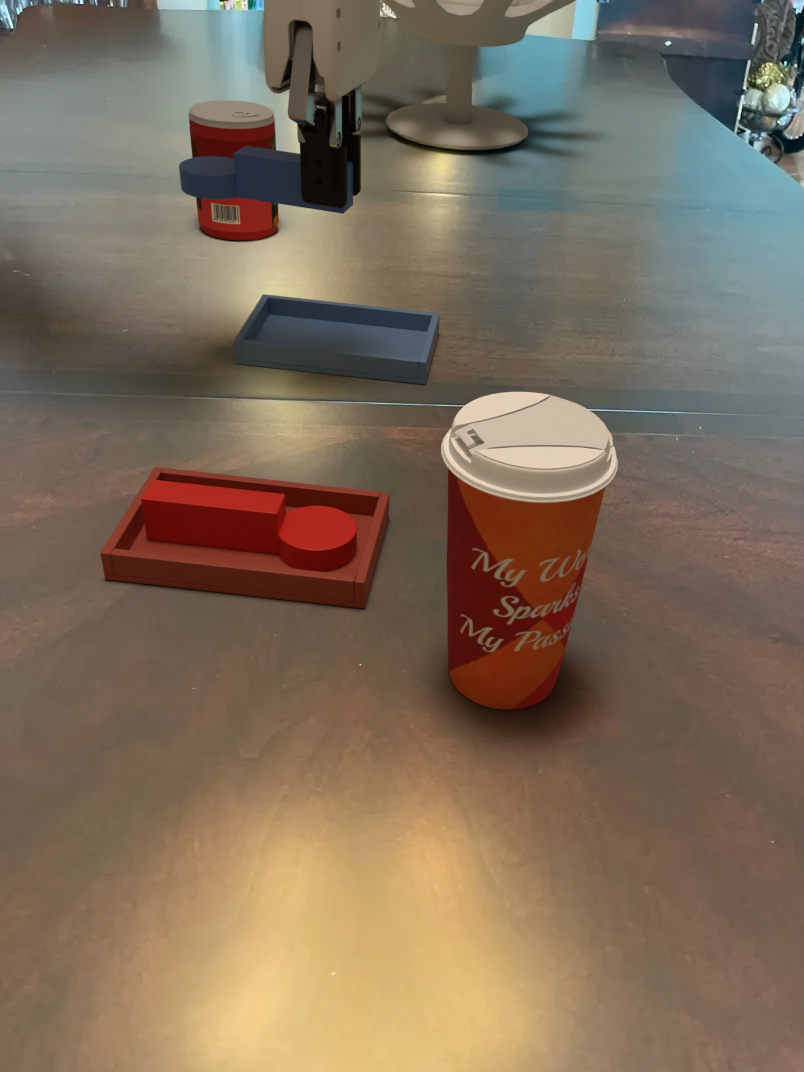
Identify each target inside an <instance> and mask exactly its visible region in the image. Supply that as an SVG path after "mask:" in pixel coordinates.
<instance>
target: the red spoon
mask: <svg viewBox="0 0 804 1072" xmlns="http://www.w3.org/2000/svg"><path fill="white" fill-rule="evenodd" d="M141 503H142V509H143V516H144V523H145V529H146V536H147V540H152V541H161V542H170V543H178V544H187V545H196V546H205V547H214V548H223V549H232V550H241V551H250V552H259V553H268V554H277V555H278V554H279V556H280V557H281V559H282V560H283V561H284V562H285V563H287V564H288V565H290V566H292V567H294V568H297V569H300V570H309V571H318V572H321V571H329V570H334V569H337V568H340V567H342V566H344V565H346V564H347V563H349V562H350V561H351V560H352V559H353V557H354V556H355V554H356V551H357V526H356V523H355V521H354V520H353V518H352V517H351V516H350V515H348V514H347V513H345V512H343V511H341V510H339V509H336V508H332V507H327V506H307V507H301V508H298V509H294V510H292V511H290V512H288V513H286V505H285V495H284V494H277V493H268V492H259V491H250V490H241V489H232V488H223V487H214V486H205V485H196V484H187V483H178V482H169V481H160V480H152V481H151V483H150V485H149V486H148V488H147V490H146V491H145V493H144V494H143V496H142V498H141Z"/></svg>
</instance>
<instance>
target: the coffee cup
mask: <svg viewBox="0 0 804 1072" xmlns="http://www.w3.org/2000/svg"><path fill="white" fill-rule="evenodd" d="M440 454H441V457H442V461H443V463H444V464H445V466H446V468H447V528H446V529H447V531H446V532H447V534H446V597H447V598H446V599H447V602H446V603H447V661H448V673H449V678H450V681H451V682H452V685H453V686H454V687H455V689H456V690H457V691H458V692H459V693H460V694H461V695H463V697H465V698H467V699H468V700H470V701H472V702H474V703H476V704H478V705H481V706H484V707H487V708H491V709H496V710H497V709H498V710H521V709H525V708H528V707H531V706H534V705H537V704H538V703H540V702H542V701H543V700H545V699H546V698H547V697H548V696H549V695H550V694H551V693H552V691H553V689H554V687H555V685H556V683H557V681H558V680H557V679H558V677H559V674H560V671H561V666H562V663H563V659H564V657H565V656H564V655H565V652H566V648H567V644H568V641H569V637H570V632H571V628H572V624H573V621H574V616H575V612H576V607H577V605H578V602H579V601H578V600H579V596H580V592H581V589H582V586H583V585H582V584H583V581H584V576H585V572H586V569H587V564H588V560H589V555H590V552H591V547H592V544H593V539H594V535H595V531H596V528H597V523H598V519H599V515H600V511H601V507H602V503H603V499H604V495H605V490H606V487H607V486H608V485H609V484H610V483H611V482H612V481H613V479H614V478H615V476H616V474H617V471H618V463H619V461H618V458H617V457H618V456H617V452H616V447H615V446H614V440H613V436H612V433H611V432H610V431H609V429H608V428H607V426H606V423H604V421H603V420H601V418H600V417H599V416H598V415H596V414H595V413H594V412H593V411H591V410H589V409H588V408H586V407H584V406H582V405H580V404H578V403H576V402H573V401H571V400H568V399H565V398H562V397H558V396H556V395H551V394H548V393H541V392H535V391H533V392H532V391H531V392H530V391H506V392H497V393H492V394H488V395H483V396H481V397H478V398H475V399H473V400H471V401H470V402H468V403H466V404H465V405H464V406H462V408H460V409H459V411H458V412H457V414H456V415H455V416H454V419H453V421H452V424H451V427H450V428H449V429H448V431H447V432H446V434H445V436H444V437H443V438H442V441H441V446H440Z"/></svg>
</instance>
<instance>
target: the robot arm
mask: <svg viewBox="0 0 804 1072" xmlns="http://www.w3.org/2000/svg"><path fill="white" fill-rule="evenodd" d="M263 37H264V38H263V39H264V40H263V42H264V46H263V47H264V78H265V84H266V86H267V88H268V89H269V91H270V92H272V93H273V94H278V95H279V94H283V93H285V92H286V91H288V90H289V92H288V101H287V102H288V103H287V104H288V105H287V116H288V119H289V120H291V121H292V122H294V123H295V124H296V127H297V128H296V129H297V130H296V131H297V134H296V135H297V140H298V143H299V154H300V164H301V192H302V199H303V201H304V202H306V203H310V204H316V205H323V206H330V207H336V208H343V207H344V206H345V205H346V204H347V161H352V162H353V197H354V196H355V197H356V196H357V195H359V193H361V190H362V136H361V135H360V134H361V130H362V126H363V104H362V103H363V102H362V101H363V89H364V87H365V85H366V82H367V80H369V79H370V78H372V77H373V75H375V73H376V71H377V70H378V67H379V59H380V45H381V41H380V40H381V0H263ZM317 85H318V91H316V86H317Z"/></svg>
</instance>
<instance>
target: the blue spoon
mask: <svg viewBox="0 0 804 1072" xmlns="http://www.w3.org/2000/svg"><path fill="white" fill-rule="evenodd" d="M233 155H234V159H233V158H228V157H219V156H203V157H195V158H192V157H191V158H187V159H184V160H182V161H181V162H180V163H178V173H179V180H180V181H179V182H180V189H181V191H182V193H184V194H185V195H188V196H189V197H190V196H191V197H194V198H196V197H197V198H203V199H230V198H235V197H239V198H245V199H251V200H258V201H264V202H271V203H277V204H278V205H284V206H291V207H298V208H304V209H311V210H315V211H316V210H317V211H322V212H328V213H329V212H330V213H336V214H341V215H342V214H345V213H346V212H347V211H348V210H349V209H350V208H351V207H352V206H353V205H354V196H353V162H352V161H347V204H346V205H345V206H344V207H343V208H336V207H330V206H323V205H316V204H310V203H306V202H304V201H303V199H302V192H301V164H300V153H297V152H290V151H284V150H277V149H276V150H271V149H265V148H258V147H251V146H245V147H243V148H241V149H240V150H238V151H237V152H235V153H234V154H233Z"/></svg>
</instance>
